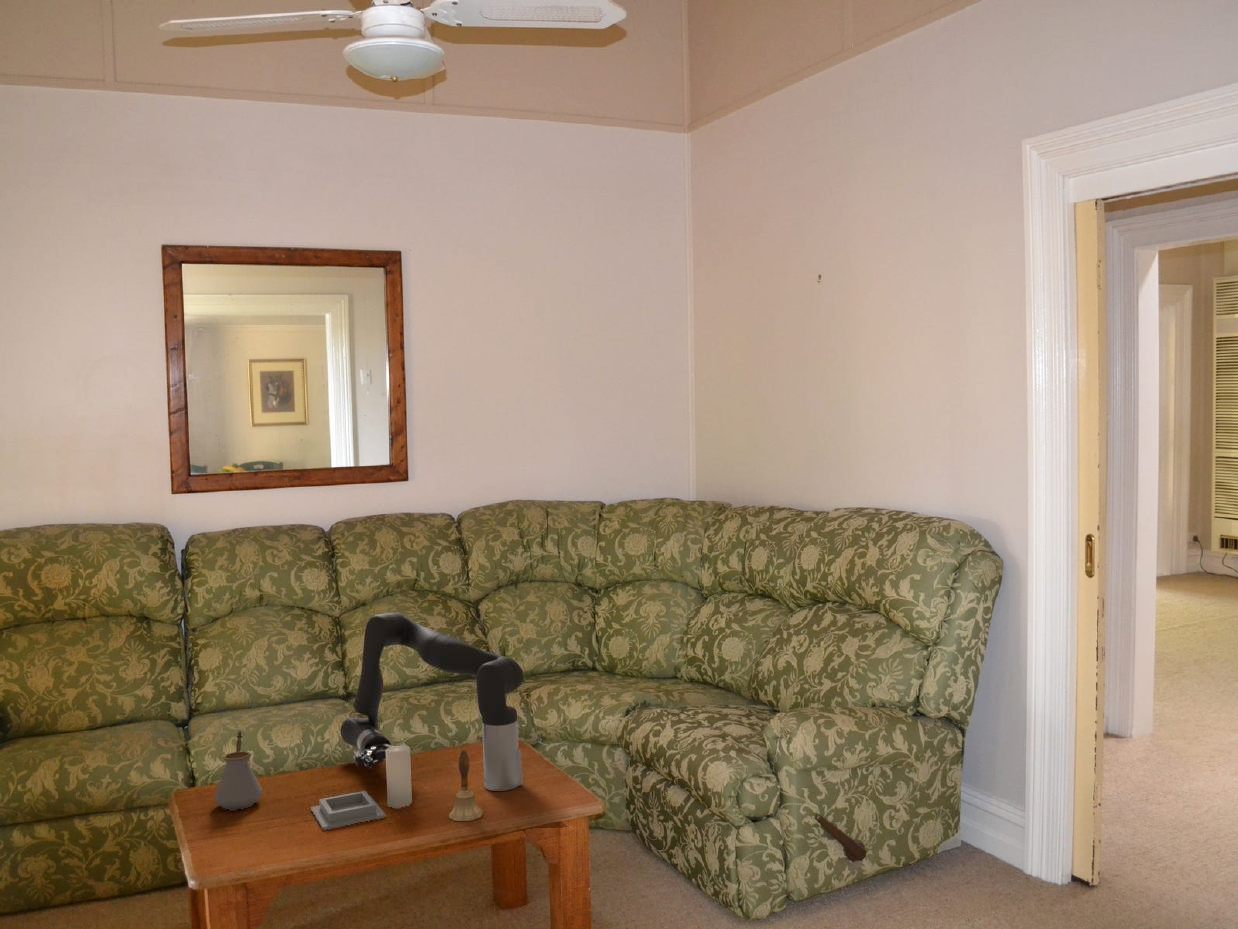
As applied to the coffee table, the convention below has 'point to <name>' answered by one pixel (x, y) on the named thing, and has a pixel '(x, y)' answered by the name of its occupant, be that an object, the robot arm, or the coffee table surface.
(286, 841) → the coffee table surface
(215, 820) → the coffee table surface
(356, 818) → the candle dish
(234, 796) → the coffee pot
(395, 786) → the candle
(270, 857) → the coffee table surface
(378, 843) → the coffee table surface
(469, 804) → the hand bell
